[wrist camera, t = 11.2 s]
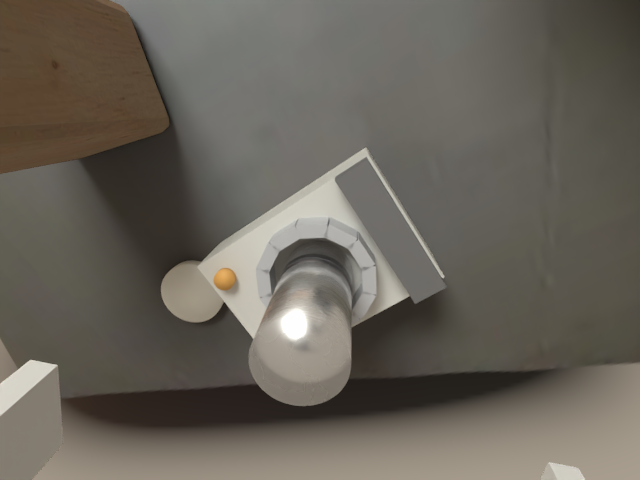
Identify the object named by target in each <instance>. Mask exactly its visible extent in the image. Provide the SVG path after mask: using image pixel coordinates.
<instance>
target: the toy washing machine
mask: <svg viewBox="0 0 640 480" xmlns="http://www.w3.org/2000/svg"><path fill="white" fill-rule="evenodd" d="M314 240H322V241H327V242H330V243H333V244H335V245H336V246H338V247H339V248H341V249H342V250H343V251H344V252H345V254H346V255H347V257H348V258H349V261H350V263H351V267H352V325H351V328H352V327H353V326H355V325H357V324H359V323H361V322H363V321H364V320H366V319H368V318H370V317H372V316H374V315H376V314H377V313H379V312H381V311H383V310H385V309H387V308H389V307H390V306H392V305H394V304H396V303H398V302H400V301H402V300H403V299H405V298H407V297H409V296H410V297H411V298H412V300H413V301H414V303H415V304H416V303H418V302H420V301H422V300H424V299H426V298H428V297H429V296H431V295H433V294H435V293H437V292H439V291H441V290H443V289H444V288H446V285H445V283H444V281H443V279H442V278H444V275H443V273H442V271H441V270H440V268H439V266H438V264H437V262H436V260H435V258H434V256H433V255H432V253H431V251H430V249H429V248H428V246H427V244H426V243H425V241H424V240H423V238H422V236H421V235H420V233H419V231H418V230H417V228H416V227H415V225H414V223H413V222H412V220H411V219H410V217H409V215H408V214H407V212H406V210H405V209H404V207H403V206H402V204H401V202H400V201H399V199H398V198H397V196H396V194H395V193H394V191H393V189H392V188H391V186H390V185H389V183H388V181H387V180H386V178H385V177H384V175H383V173H382V172H381V170H380V168H379V167H378V165H377V164H376V162H375V160H374V159H373V157H372V156H371V154H370V152H369V151H368V149H367V148H364V149H363V150H361V151H360V152H358V153H356V154H355V155H353V156H352V157H350V158H349V159H347V160H346V161H344V162H343V163H341V164H340V165H338V166H337V167H335V168H334V169H332V170H331V171H329V172H327V173H326V174H324V175H323V176H321V177H320V178H318V179H317V180H315V181H314V182H312V183H311V184H309V185H308V186H306V187H305V188H303V189H301V190H300V191H298V192H297V193H295V194H294V195H292V196H291V197H289V198H288V199H286V200H285V201H283V202H282V203H280V204H279V205H277V206H276V207H274V208H272V209H271V210H269V211H268V212H266V213H265V214H263V215H262V216H260V217H259V218H257V219H256V220H254V221H253V222H251V223H250V224H248V225H247V226H245V227H243V228H242V229H240V230H239V231H237V232H236V233H234V234H233V235H231V236H230V237H228V238H227V239H225V240H224V241H222V242H221V243H219V244H218V245H217V246H216V247H215V249H214V250H213V251H212V252H211V253H210V254H209V255H208V256H207V257H206V258H205V259H204V260H203V261H202V262H201V263H200V264H199V265H198V266H197V267H198V269H199V270H200V271H201V273H202V274H203V275H204V276H205V278H206V279H207V280H208V282H209V283H210V284H211V285H212V287H213V288H214V289H215V290H216V292H217V293H218V294H219V296H220V297H221V298H222V299H223V301H224V302H225V303H226V305H227V306H228V307H229V308H230V310H231V311H232V312H233V313H234V315H235V316H236V317H237V319H238V320H239V321H240V322H241V324H242V325H243V326H244V327H245V329H246V330H247V331H248V333H249V334H250V335H251V336H252V338H253V339H254V337H255V335H256V332H257V330H258V328H259V325H260V323H261V321H262V318H263V316H264V314H265V311H266V309H267V307H268V304H269V302H270V300H271V297H272V295H273V293H274V290H275V288H276V285H277V283H278V280H279V278H280V276H281V273H282V271H283V269H284V267H285V265H286V262H287V260H288V258H289V256H290V254H291V253H292V252H293V250H294V249H295V248H297V247H298V246H299V245H301V244H303V243H305V242H308V241H314Z"/></svg>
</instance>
